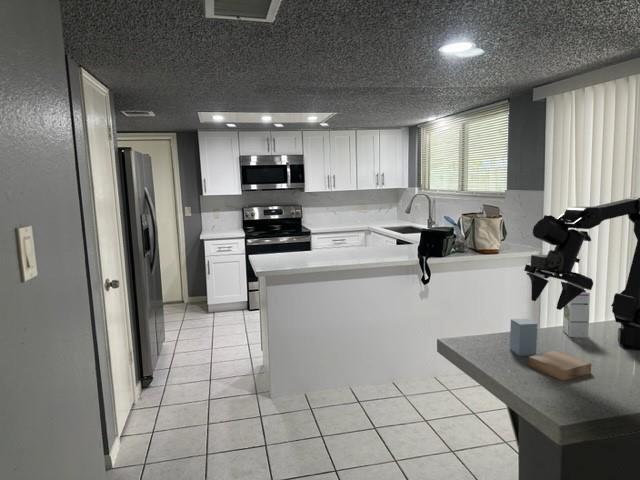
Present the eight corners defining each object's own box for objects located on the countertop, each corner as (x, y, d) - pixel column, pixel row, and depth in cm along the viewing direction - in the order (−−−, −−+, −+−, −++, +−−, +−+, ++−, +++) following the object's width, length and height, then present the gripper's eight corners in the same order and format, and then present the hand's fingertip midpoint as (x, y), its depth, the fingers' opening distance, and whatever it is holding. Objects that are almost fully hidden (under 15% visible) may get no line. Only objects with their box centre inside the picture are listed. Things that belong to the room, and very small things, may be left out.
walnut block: (555, 360, 119) (556, 350, 119) (590, 374, 110) (591, 363, 109) (528, 367, 115) (528, 356, 115) (562, 382, 106) (563, 370, 106)
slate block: (526, 348, 127) (527, 318, 126) (536, 354, 122) (537, 323, 121) (509, 349, 127) (510, 319, 126) (519, 355, 122) (520, 324, 121)
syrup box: (589, 338, 134) (591, 292, 133) (568, 337, 136) (570, 291, 134) (581, 332, 140) (584, 287, 138) (561, 331, 141) (563, 287, 139)
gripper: (519, 237, 125) (499, 288, 125) (571, 245, 107) (548, 304, 107) (549, 250, 128) (529, 300, 128) (604, 260, 110) (581, 317, 110)
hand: (545, 304), depth 118 cm, fingers open, 9 cm apart
